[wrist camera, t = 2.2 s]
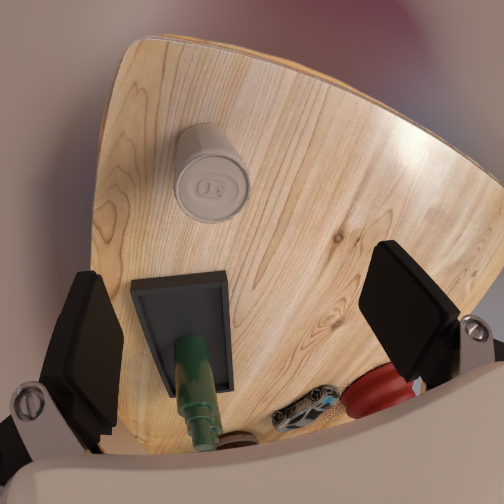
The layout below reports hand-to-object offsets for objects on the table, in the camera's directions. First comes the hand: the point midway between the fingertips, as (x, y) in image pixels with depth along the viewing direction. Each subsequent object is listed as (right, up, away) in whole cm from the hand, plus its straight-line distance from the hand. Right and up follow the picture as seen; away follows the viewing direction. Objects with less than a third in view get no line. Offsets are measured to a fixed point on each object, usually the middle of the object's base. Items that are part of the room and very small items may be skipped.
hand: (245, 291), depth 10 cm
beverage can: (-5, +12, +18) cm, 22 cm away
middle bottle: (-9, -12, +32) cm, 35 cm away
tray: (-9, -12, +32) cm, 36 cm away
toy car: (+12, -34, +53) cm, 64 cm away
